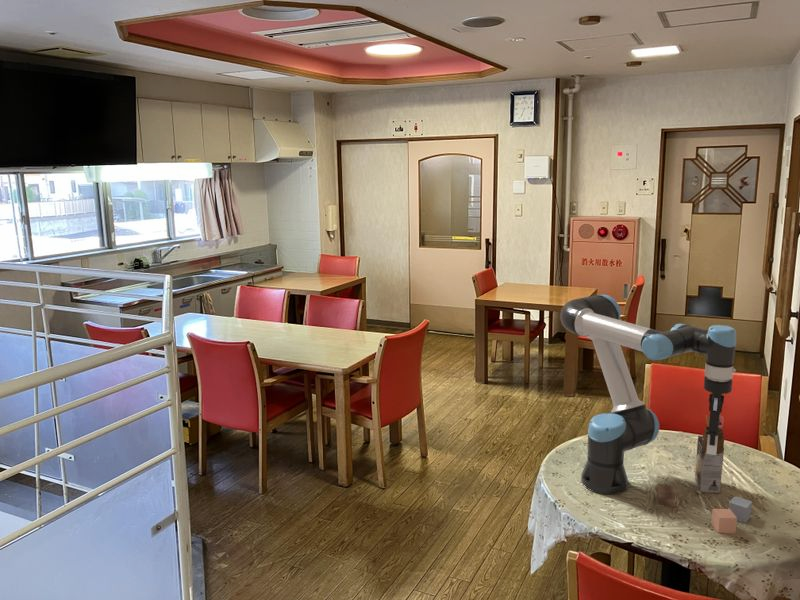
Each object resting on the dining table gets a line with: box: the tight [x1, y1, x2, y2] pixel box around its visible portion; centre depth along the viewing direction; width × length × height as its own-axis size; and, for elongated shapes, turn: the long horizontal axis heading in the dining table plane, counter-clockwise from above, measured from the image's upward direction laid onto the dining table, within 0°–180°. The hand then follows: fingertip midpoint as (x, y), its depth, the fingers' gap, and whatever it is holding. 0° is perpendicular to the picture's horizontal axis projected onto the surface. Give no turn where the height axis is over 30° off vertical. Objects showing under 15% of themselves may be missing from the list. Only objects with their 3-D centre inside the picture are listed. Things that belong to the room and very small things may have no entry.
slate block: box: [728, 496, 753, 524], centre depth 201 cm, size 5×5×5 cm
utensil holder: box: [702, 414, 725, 454], centre depth 199 cm, size 6×6×12 cm
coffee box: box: [694, 435, 725, 494], centre depth 218 cm, size 9×6×16 cm
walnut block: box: [656, 483, 677, 508], centre depth 210 cm, size 5×5×5 cm
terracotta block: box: [710, 508, 738, 534], centre depth 195 cm, size 5×5×5 cm
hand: (712, 449), depth 200 cm, fingers closed on utensil holder, 6 cm apart
